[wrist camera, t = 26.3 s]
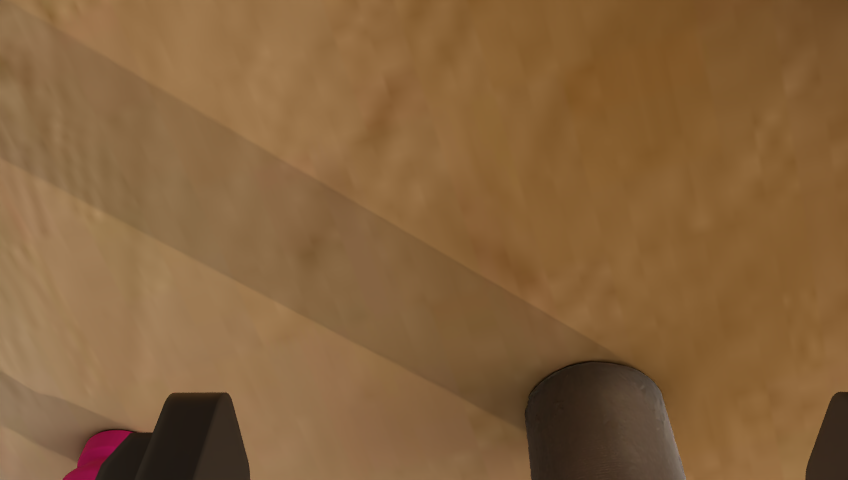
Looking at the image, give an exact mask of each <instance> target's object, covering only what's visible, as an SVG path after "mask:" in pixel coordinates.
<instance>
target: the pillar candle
mask: <svg viewBox="0 0 848 480" xmlns="http://www.w3.org/2000/svg"><path fill="white" fill-rule="evenodd" d="M525 419H526V421H525V422H526V428H527V439H528V445H529V447H528V449H529V459H530V469H531V479H532V480H686V476H685V474H684V470H683V466H682V462H681V459H680V455H679V452H678V448H677V445H676V443H675V440H674V435H673V431H672V428H671V425H670V422H669V418H668V415H667V412H666V408H665V403H664V401H663V398H662V394H661V391H660V390H659V388H658V387H657V386H656V384H655V383H654V382H653V381H652V380H651V379H650V378H649V377H648V376H645V375H644V374H643V373H641V372H640V371H637V370H636V369H633V368H630V367H627V366H623V365H617V364H612V363H602V362H587V363H583V364H576V365H573V366H570V367H566V368H564V369H563V370H559V371H557V372H555V373H554V374H552V375H550V376H549V377H547V378H546V379H545V380H544V381H543V382H541V383H540V385H538V386H537V387H536V388H535V389H534V390H533V391H532V393H531V394H530V396H529V401H528V406H527V408H526V410H525Z"/></svg>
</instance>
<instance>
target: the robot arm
mask: <svg viewBox="0 0 848 480" xmlns="http://www.w3.org/2000/svg"><path fill="white" fill-rule="evenodd" d="M95 480H250V470H249V463H248V459H247V455H246V451H245V448H244V444H243V440H242V436H241V433H240V429H239V425H238V421H237V417H236V414H235V410H234V406H233V402H232V399H231V397H230V395H229V394H228V393H172V394H170V395H169V397H168V398H167V400H166V401H165V404H164V406H163V408H162V411H161V413H160V416H159V419H158V421H157V424H156V426H155V429H154V431H153V433H130V434H129V435H128V436H127V437H126V438H125V439H124V440H123V441H122V443H121V444H120V445H119V446H118V447H117V448H116V449H115V450H114V451H113V452H112V453H111V454H110V456H109V457H108V458H107V459H106V460H105V461H104V462H103V463H102V464H101V467H100V469H99V471H98V474H97V476H96V478H95ZM806 480H848V392H838V393H836V394H835V395H834V396H833V397H832V399H831V401H830V403H829V406H828V409H827V412H826V414H825V417H824V420H823V423H822V425H821V428H820V431H819V434H818V436H817V439H816V442H815V445H814V448H813V450H812V453H811V456H810V459H809V461H808V465H807V469H806Z"/></svg>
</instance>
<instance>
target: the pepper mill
mask: <svg viewBox="0 0 848 480" xmlns="http://www.w3.org/2000/svg"><path fill="white" fill-rule="evenodd" d="M130 433H134V432H130V431H124V430H110V431H104V432H100V433H98V434H96V435H94V436H93V437H91V438H90V439H89V440H88V442H87V443H86V445H85V447H84V449H83V451H82V454H81V456H80V458H79V460H78V464H77V468H76V469H74V470H73V471H71V472H70V473H68V474H67V475H66V476H65V477H64V478H63V480H95V478H96V476H97V474H98V471H99V469H100V467H101V464H102V463H103V462H104V461H105V460H106V459H107V458H108V457H109V456H110V454H111V453H112V452H113V451H114V450H115V449H116V448H117V447H118V446H119V445H120V444H121V443H122V441H123V440H124V439H125V438H126V437H127V436H128V435H129V434H130Z"/></svg>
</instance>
